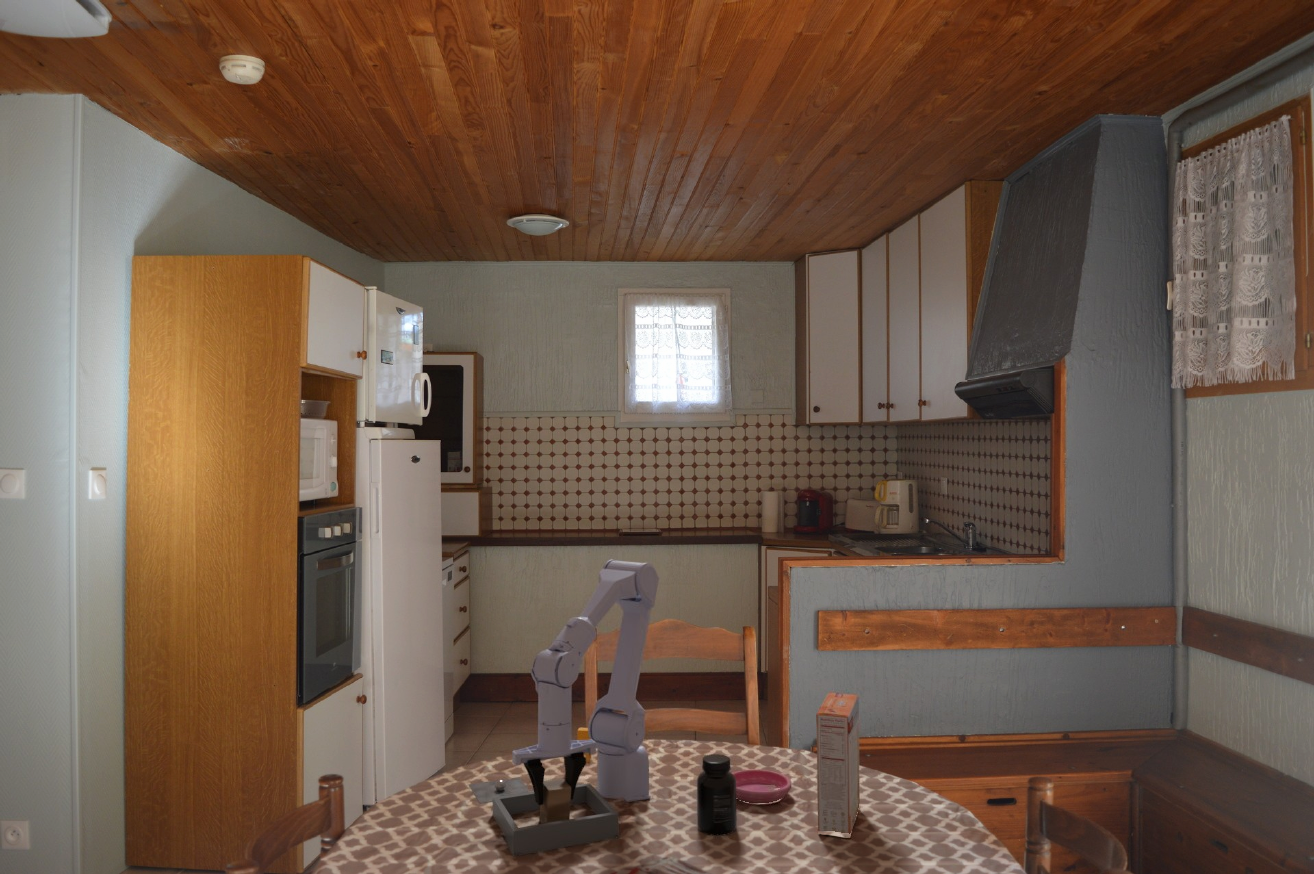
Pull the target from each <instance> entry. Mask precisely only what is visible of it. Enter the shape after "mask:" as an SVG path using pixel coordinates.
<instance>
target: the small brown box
mask: <svg viewBox="0 0 1314 874" xmlns="http://www.w3.org/2000/svg"><path fill="white" fill-rule="evenodd" d="M570 801H571V787H570V785H569V784H568V783H567V782H566V781H565V778H555V779H550V780H549V779H548V780H544V781H543V805H540V810H539V819H538V821H539V822H540V824H545V823H551V822H557V821H563V820H569V819H571V818H570V816H571V805H570Z"/></svg>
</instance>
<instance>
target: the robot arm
mask: <svg viewBox="0 0 1314 874" xmlns="http://www.w3.org/2000/svg"><path fill="white" fill-rule="evenodd" d="M659 579H660V577H659V574H658V572H657V570H656V567H655V566H654V565H653V564H652V563H651V562H638V561H626V560H625V561H624V560H617V559H608V560H607V561H606V562H605V563H604V565H602V568H601V570H599V572H598V584H597V587H596V588H595V590H594V592H593V594H592V595H591V596H590V598H589V600H588V602H587V603H586V605H585V606H584V609H583V610H582V612H581V614H580V615H579V617H578V616H577V617H576V616H574V617H571V618H570V619H568V621H567V622H566V623H565V626H564V627H563V628H562V629H561V631H560V632H559V634H558V635H557V637H556V638H555V640H553V642H552V644H551V645H550V646H549V648H548V649H544V650H542V651H541V652H539V653H538V654H537V655H536V656H535V658H534V660H533V662H532V667H530V675H531V677H532V679H533V681H534V683H535V691H536V693H537V695H538V696H537V697H538V698H537V699H538V700H537V701H538V702H537V703H538V704H537V707H538V708H537V709H538V711H537V717H538V718H537V719H538V720H537V724H538V725H537V744H534V745H531V746H527V747H524V748H520V749H516V750H515V749H514V750H512V751H511V753H512V754H511V758H512V759H511V762H512V763H513V765H514V766H521V765H522V764H523V766H524V767H525V770H526V772H527V774H528V776H529V779H530V782H531V786H532V790H533V792H534V794H535V801H536V802H537V804H538V805H543V781H545V780H544V779H545V773H546V768H545V767H544V766H543V762H542V761H545V760H552V759H559V758H563V763H564V762H565V763H564V773H565V778H564V780H565V781H566V782H567V783H568V784H569V785H570V787H571V800H572V799H573V797H574V792H575V788H576V785H578V781H579V778H580V776H581V773H582V771H583V770H584V767H585V766H586V764H587V762H586V758H585V757H584V754H585V753H589V754H591V755H595V754H596V755H597V756H596V757H597V759H596V760H597V761H596V762H597V763H596V765H597V767H596V770H597V771H596V772H597V774H596V776H597V778H596V790H597V791H598V792H599V793H600V794H601V796H602V797H603V798H605V799H606V798H607V799H615V800H616V799H624V801H626V803H630V802H637V801H643V800H649V799H651V794H650V761H649V755H648V751H647V749H646V747H645V746H644V745H643V742H644V740H645V736H646V726H645V725H646V724H645V722H646V721H645V718H646V713H647V712H646V710H645V709H644V708H643V706H642V705H641V704H640V703H639V701H638V700H637V699H636V696H637V692H638V685H639V680H640V675H641V669H642V663H643V658H644V652H645V646H646V642H647V637H648V636H647V635H648V629H649V624H650V619H651V613H652V609H653V608H654V607H655V602H656V599H657V598H656V597H657V592H658V587H659V582H660V581H659ZM615 604H618V605H619V607H620V608H621V610H622V612H623V613H622V618H621V624H620V629H619V633H618V634H619V635H618V640H617V644H616V649H615V650H616V651H615V654H614V655H615V656H614V660H613V666H612V670H611V676H610V682H609V687H608V691H607V694H605V695H604V696H602V698H600V699H598V700H597V701H596V702H595V707H594V710H593V712H592V714H591V716H590V718H589V721H588V723H587V724H588V725H587V728H588V734H589V737H590V740H577V739H576V740H575V739H574V740H573V739H572V699H573V697H572V691H573V690H572V689H573V688H572V685H573V684H574V683H575V681H577V679H578V677H579V673H580V669H581V665H582V664H583V663H582V662H583V657H584V656H585V654H586V652H587V651H588V649H589V648H590V647H591V646H592V644H593V643H594V641H595V640H596V638H597V631H596V627H598V625H599V623H601V621H602V620H603V619H604V618H605V616H606V615H607V614H608V613H609V612H610V610H611V609H612V608H613V607H614V605H615ZM614 711H615V712H614ZM616 711H621V712H624V713H621V712H616ZM596 749H597V751H596ZM596 752H597V753H596Z"/></svg>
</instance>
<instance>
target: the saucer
mask: <svg viewBox="0 0 1314 874" xmlns="http://www.w3.org/2000/svg"><path fill="white" fill-rule="evenodd" d="M731 773H732V774H733V775H734V776H735V778H736V798H738V799H739V800H741V801H745V802H749V803H769V802H773V801H777V800H779V799H781V798H783V797H784V798H785V796H788V793H789V792H790V791H791V790H792V781H791V779H790V778H789V777H788V776H787V775H784V774H783V773H780V772H777V771H773V770H767V769H754V768H753V769H743V770H742V769H741V770H737V771H734V772H731ZM762 785H775V786H776V787H774V788H780V789H778V790H774V789H768V788H772V787H767V786H762ZM770 790H773V791H770ZM784 798H783V799H784Z"/></svg>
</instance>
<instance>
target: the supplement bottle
mask: <svg viewBox="0 0 1314 874" xmlns="http://www.w3.org/2000/svg"><path fill="white" fill-rule="evenodd" d="M701 767H702V769H701V770H702V772H700V773H699V774H698V776H697V779H696V803H697V804H696V808H697V809H696V811H697V812H696V815H697V819H696V820H697V822H696V823H697V828H698V829H699V831H701V832H702V833H704V834H706V833H707V835H710V834H712V835H711V836H725V835H724V834H726V835H729V834H732V833H733V832H735V830H736V829H737V823H738V822H737V817H738V816H737V812H738V811H737V808H738V806H737V799H736V778H735V776H734V775H733V774H732V773H733V772H731V769H732V767H731V758H730V756H728V755H725V754H721V753H720V754H719V753H713V754H707V755H704V756H703V757H702V766H701ZM732 831H733V832H732ZM731 832H732V833H731ZM728 833H729V834H728Z"/></svg>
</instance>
